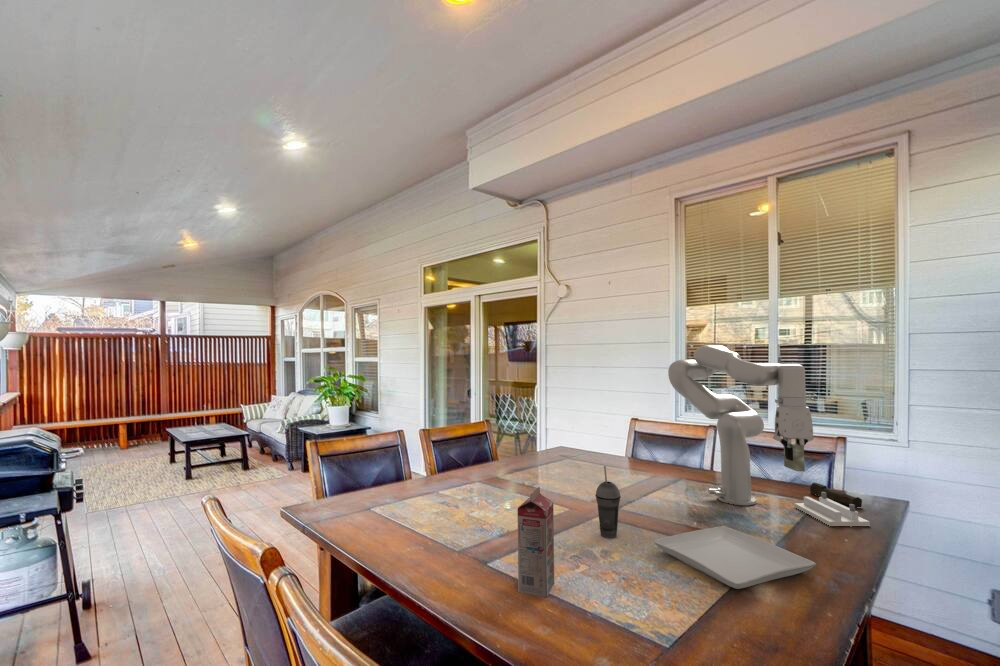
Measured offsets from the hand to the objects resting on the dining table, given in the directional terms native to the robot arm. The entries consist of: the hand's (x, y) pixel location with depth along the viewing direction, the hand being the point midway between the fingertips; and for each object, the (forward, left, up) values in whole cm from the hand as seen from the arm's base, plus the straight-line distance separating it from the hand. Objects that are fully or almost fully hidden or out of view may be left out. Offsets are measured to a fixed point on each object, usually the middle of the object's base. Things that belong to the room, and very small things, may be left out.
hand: (793, 459), depth 153 cm
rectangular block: (0, 0, -3) cm, 3 cm away
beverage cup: (-63, -14, -19) cm, 67 cm away
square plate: (-36, -32, -20) cm, 52 cm away
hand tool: (+24, +19, -19) cm, 36 cm away
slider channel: (+12, +2, -19) cm, 22 cm away
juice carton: (-86, -45, -19) cm, 99 cm away
